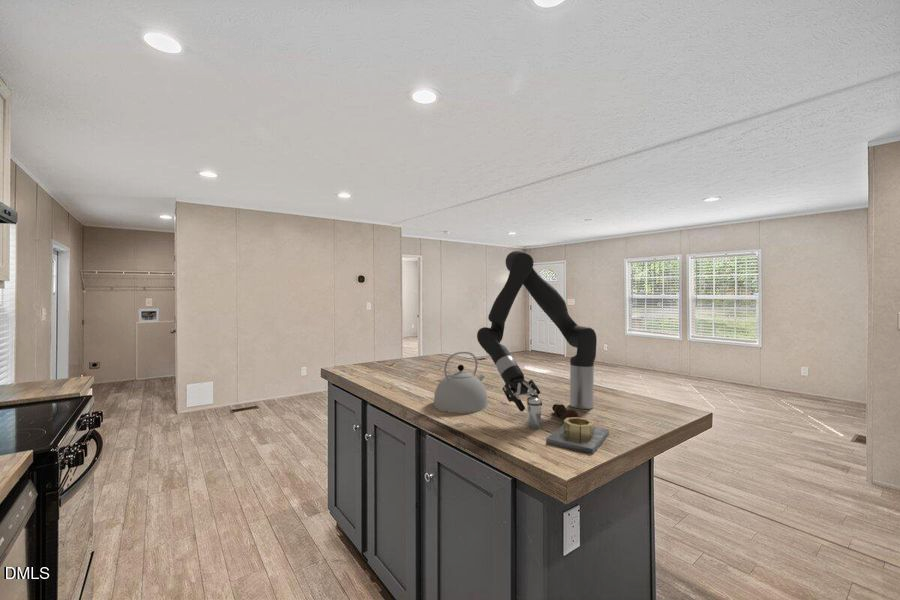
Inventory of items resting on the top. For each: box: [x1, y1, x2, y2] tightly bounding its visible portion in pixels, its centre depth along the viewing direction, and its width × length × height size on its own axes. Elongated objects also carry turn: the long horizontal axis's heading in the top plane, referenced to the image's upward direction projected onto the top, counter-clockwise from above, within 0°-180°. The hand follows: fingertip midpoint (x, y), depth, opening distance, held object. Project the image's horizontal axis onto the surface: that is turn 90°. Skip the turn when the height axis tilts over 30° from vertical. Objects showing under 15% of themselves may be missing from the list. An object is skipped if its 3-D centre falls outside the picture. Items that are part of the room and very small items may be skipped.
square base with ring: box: [545, 416, 610, 455], centre depth 124 cm, size 20×14×6 cm
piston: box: [526, 396, 542, 430], centre depth 135 cm, size 5×5×10 cm
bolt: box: [551, 403, 580, 421], centre depth 145 cm, size 6×5×15 cm
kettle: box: [433, 351, 489, 414], centre depth 163 cm, size 25×23×23 cm
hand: (532, 408), depth 135 cm, fingers open, 8 cm apart
